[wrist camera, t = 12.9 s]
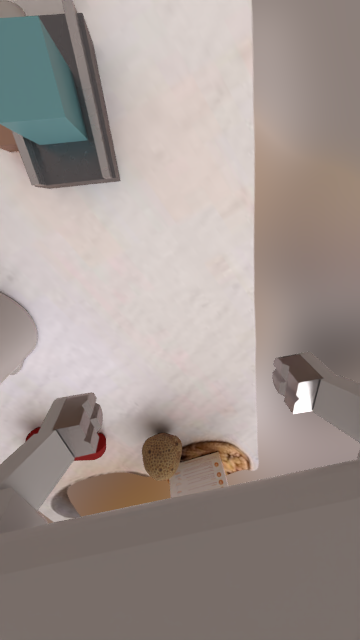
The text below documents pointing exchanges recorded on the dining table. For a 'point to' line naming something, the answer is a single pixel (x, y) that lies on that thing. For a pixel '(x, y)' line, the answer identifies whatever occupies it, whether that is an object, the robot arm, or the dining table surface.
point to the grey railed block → (98, 151)
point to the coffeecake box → (198, 475)
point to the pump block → (36, 82)
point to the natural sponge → (162, 455)
